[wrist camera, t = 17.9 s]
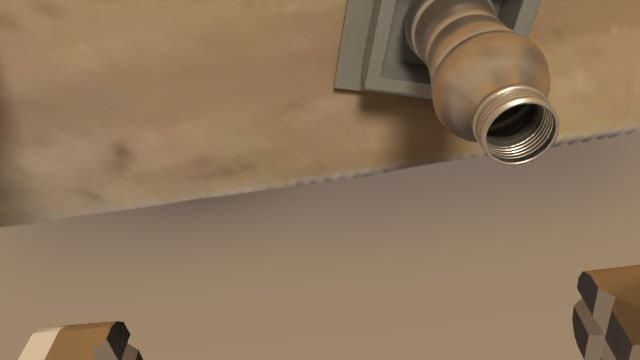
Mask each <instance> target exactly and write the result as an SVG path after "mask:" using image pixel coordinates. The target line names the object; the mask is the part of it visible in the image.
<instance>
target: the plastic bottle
mask: <svg viewBox="0 0 640 360" xmlns="http://www.w3.org/2000/svg"><path fill="white" fill-rule="evenodd" d="M405 36H406V39H407V42H408V44H409V46H410V48H411V49H412V50H413V51H414V53H415V54H416V55H417V56H418V57H419V58H420V59H421V60H422V61H424V63H425V64H426V66H427V67H428V70H429V74H430V78H431V94H432V101H433V106H434V109H435V113H436V115H437V117H438V118H439V120H440V122H441V123H442V124H443V125H444V126H445V127H446V128H447V129H448V130H450V131H451V132H452V133H454V134H455V135H457V136H458V137H460V138H462V139H465V140H467V141H471V142H477V143H479V144H480V146H481V147H483V149H484V151H485V153H486V154H487V155H488V156H489V157H490V158H491V159H493V160H494V161H496V162H498V163H500V164H504V165H520V164H525V163H528V162H531V161H533V160H535V159H537V158H538V157H540V156H541V155H543V154H544V153H545V152H546V151H547V150H548V149H549V148H550V147H551V146H552V144H553V143H554V141H555V139H556V138H557V135H558V132H559V120H558V117H557V114H556V112H555V110H554V109H553V108H552V106H551V105H550V103H549V101H548V95H549V92H550V74H549V67H548V63H547V61H546V58H545V56H544V54H543V53H542V52H541V50H540V49H539V48H538V47H537V46H536V45H535V44H533V43H532V42H531V41H530V40H528V39H527V38H526V37H524V36H522V35H520V34H519V33H517V32H515V31H513V30H511V29H509V28H508V27H506V26H505V25H504V24H503V23H502V22H501V21H500V20H499V19H498V17H497V15H496V12H495V7H494V5H493V2H492V0H411V1H410V3H409V5H408V8H407V11H406V17H405Z"/></svg>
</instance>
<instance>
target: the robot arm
mask: <svg viewBox="0 0 640 360" xmlns="http://www.w3.org/2000/svg"><path fill="white" fill-rule="evenodd" d="M577 289H578V291H579V293H580V294H581V296H582V299H581V300H580V301H579V302H578V303H577V304H575V305H574V309H573V318H572V322H573V329H574V336H575V339H576V342H577V345H578V348H579V350H580V352H581V354H582V356H583V358H584V360H640V265H633V266H625V267H616V268H608V269H599V270H592V271H591V270H590V271H583V272H582V273H581V275H580V276H579V279H578V284H577ZM129 337H130V333H129V331H128V329H127V327H126V325H125V324H124V322H119V321H113V322H101V323H88V324H76V325H66V326H57V327H44V328H39V329H38V330H37V331H36V332H34V333H33V334H32V335H31V337H30V339H29V341H28V342H27V344H26V346H25V348H24V350H23V351H22V353H21V355H20V357H19V358H18V360H143V358H142V356H141V355H140V352H139V350H137V349H136V348H134V347H132V346H131V345H129V344H128V343H127V342H128V339H129Z"/></svg>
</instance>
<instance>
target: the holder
mask: <svg viewBox="0 0 640 360" xmlns="http://www.w3.org/2000/svg"><path fill="white" fill-rule="evenodd" d="M410 1H411V0H347V4H346V10H345V17H344V23H343V29H342V36H341V42H340V48H339V54H338V61H337V67H336V73H335V79H334V88H340V89H348V90H357V91H365V92H373V93H381V94H389V95H398V96H406V97H414V98H422V99H430V100H432V94H431V78H430V74H429V70H428V67H427V66H426V64H425V63H424V61H422V60H421V59H420V58H419V57H418V56H417V55H416V54H415V53H414V51H413V50H412V49H411V48H410V46H409V44H408V42H407V39H406V36H405V17H406V11H407V8H408V5H409V3H410ZM492 2H493V5H494V7H495V12H496V15H497V17H498V19H499V20H500V21H501V22H502V23H503V24H504V25H505V26H506V27H508V28H509V29H511V30H513V31H515V32H517V33H519V34H520V35H522V36H524V37H526V38H527V39H528V36H529V33H530V30H531V27H532V24H533V22H534V19H535V16H536V13H537V10H538V8H539V5H540V2H541V0H492Z"/></svg>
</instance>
